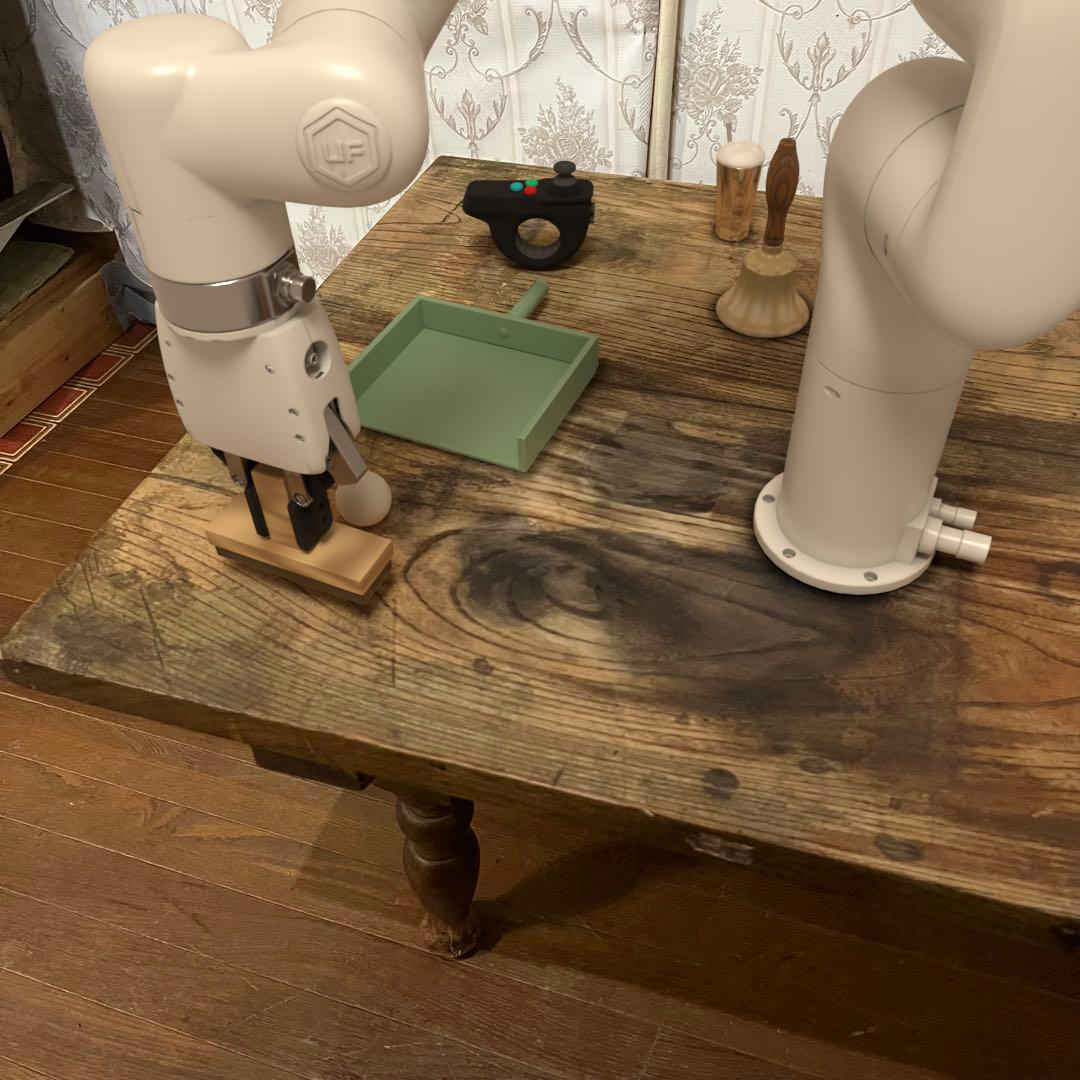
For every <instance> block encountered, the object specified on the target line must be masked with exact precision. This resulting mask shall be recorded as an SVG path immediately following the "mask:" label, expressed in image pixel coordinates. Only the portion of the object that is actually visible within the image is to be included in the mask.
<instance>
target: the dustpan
mask: <svg viewBox="0 0 1080 1080" xmlns="http://www.w3.org/2000/svg"><path fill="white" fill-rule="evenodd" d="M549 292H550V285H549V283H548V282H547V281H546V280H544V279H537V280H535V281H534V282H533V283H532V284H531V286H530V287H528V289H527V290H526V291H525V292H524V293H523V295H522V296H521V297H520V299H518V300H517V302H515V304H514V305H513V306H512V308H511V309H510V310H509V311H508V312H507V313H506V314H505V313H502V312H497V311H493V310H489V309H483V308H480V307H475V306H471V305H467V304H463V303H458V302H454V301H449V300H445V299H441V298H436V297H433V296H432V297H431V296H428V295H424V294H417V295H416V296H415V297H414V298H413V299H412V300H411V301H410V302H409V303H408V304H407V305H406V306H405V307H404V308H403V309H402V310H400V312H399V313H398V314H397V315H396V316H395V317H394V318H393V320H391V322H389V324H388V325H387V326H385V328H384V329H383V330H382V331H380V333H379V334H378V335H377V336H376V337H374V339H373V340H371V342H370V343H369V344H368V345H367V346H366V347H365V348H364V349H363V350H362V351H361V352H360V353H359V354H358V355H357V356H356V357H355V358H354V360H352V361H351V362H350V364H349V365H347V366H346V367H347V370H348V374H349V377H350V381H351V384H352V388H353V392H354V396H355V400H356V404H357V408H358V413H359V419H360V428H365V429H369V430H373V431H375V432H379V433H383V434H386V435H389V436H393V437H397V438H402V439H404V440H407V441H410V442H411V441H412V442H414V443H417V444H422V445H425V446H429V447H433V448H436V449H439V450H443V451H447V452H449V453H454V454H457V455H461V456H464V457H468V458H472V459H474V460H479V461H483V462H486V463H489V464H492V465H496V466H500V467H502V468H503V467H504V468H507V469H510V470H513V471H518V472H521V473H524V474H526V473H527V472H528V471H529V470H530V468H531V466H532V465H533V463H534V462H535V461H536V459H537V458H538V457H539V455H540V454H541V452H542V451H543V449H544V448H545V446H546V445H547V444H548V443H549V441H550V439H551V438H552V436H553V435H554V433H555V432H556V431H557V429H558V428H559V426H560V425H561V423H562V422H563V420H564V419H565V418H566V417H567V414H568V413H569V412H570V411H571V409H572V407H573V406H574V404H576V402H577V400H578V399H579V398H580V396H581V395H582V393H583V392H584V390H585V389H586V387H587V386H588V384H589V383H590V382H591V380H592V378H593V377H594V376H595V374H596V373H597V368H598V367H599V363H600V362H599V361H600V359H599V355H600V354H599V353H600V336H599V335H597V334H593V333H588V332H585V331H581V330H580V331H579V330H576V329H571V328H566V327H562V326H558V325H554V324H549V323H544V322H542V321H541V322H540V321H536V320H533V319H532V320H531V319H529V318H530V316H531V315H532V314H533V313H534V311H535V310H536V309H537V308H538V307H539V305H540V304H541V303H542V302H543V300H544V299H545V298H546V297H547V296H548V294H549Z"/></svg>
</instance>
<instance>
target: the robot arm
mask: <svg viewBox="0 0 1080 1080" xmlns="http://www.w3.org/2000/svg"><path fill="white" fill-rule="evenodd" d="M458 2H459V0H282V2H281V4H280V6H279V10H278V12H277V15H276V18H275V22H274V25H273V29H272V33H271V38H270V40H269V42H268V43H266V44H264V45H262V46H260V47H257V48H252V47H251V46H250V44H249V42H248V41H247V39H246V38H245V37H244V35H243V34H242V33H241V31H239V30H238V29H237V28H236V27H235V26H234V25H232V24H230V23H229V22H227V21H225V20H224V19H221V18H219V17H216V16H213V15H207V14H201V13H193V12H166V13H158V14H157V13H156V14H149V15H145V16H141V17H136V18H132V19H129V20H126V21H124V22H121V23H118V24H116V25H114V26H112V27H110V28H108V29H106V30H104V31H103V32H100V33H99V34H98V35H97V36H96V37H95V38H94V39H93V40H92V41H91V42H90V44H89V45H88V47H87V49H86V50H85V53H84V56H83V62H82V63H83V65H82V75H83V76H82V77H83V82H84V85H85V88H86V93H87V95H88V99H89V102H90V105H91V109H92V112H93V114H94V117H95V120H96V122H97V126H98V129H99V131H100V136H101V138H102V141H103V144H104V147H105V149H106V150H105V151H106V153H107V156H108V159H109V162H110V165H111V168H112V170H113V174H114V176H115V181H116V182H117V185H118V186H117V187H118V189H119V192H120V194H121V198H122V200H123V204H124V207H125V210H126V212H127V215H128V219H129V221H130V224H131V227H132V231H133V233H134V236H135V238H136V242H137V246H138V248H139V251H140V254H141V258H142V260H143V263H144V266H145V269H146V273H147V275H148V278H149V281H150V283H151V287H152V291H153V293H154V297H155V301H154V313H155V324H156V331H157V337H158V343H159V349H160V353H161V358H162V362H163V367H164V371H165V374H166V378H167V382H168V385H169V389H170V392H171V396H172V398H173V401H174V404H175V407H176V410H177V413H178V415H179V417H180V420H181V422H182V427H183V430H184V431H185V432H186V433H187V434H188V435H189V436H190V437H192V438H193V439H194V440H196V441H197V442H199V443H201V444H203V445H205V446H206V447H208V448H210V450H211V452H212V453H213V455H214V456H216V457H217V458H218V459H219V460H220V461H221V462H222V463H223V464H224V465H225V466H226V467H227V471H228V473H229V477H230V479H231V481H232V482H233V484H234V485H236V486H237V487H239V488H240V489H244V491H243V493H244V494H245V497H246V500H247V504H248V507H249V510H250V513H251V516H252V520H253V523H254V526H255V529H256V532H257V534H258V535H260V536H263V537H267V536H270V534H269V531H268V527H267V524H266V521H265V517H264V514H263V511H262V507H261V504H260V501H259V497H258V494H257V491H256V488H255V485H254V481H253V478H252V475H251V471H252V470H253V469H254V468H255V467H256V466H257V464H258V463H259V462H261V463H264V464H267V465H271V466H274V467H278V468H281V469H283V471H284V474H285V477H286V480H287V483H288V487H289V490H290V493H291V496H292V500H291V501H290V502H289V503H288V505H287V509H288V513H289V517H290V520H291V524H292V527H293V531H294V535H295V538H296V542H297V545H298V546H299V548H300V549H302V550H305V551H309V550H310V549H311V548H312V547H313V546H314V544H315V543H316V542H317V541H318V540H319V538H320V537H321V536H323V535H325V534H326V533H327V531H328V530H329V529H330V527H331V525H332V522H333V521H334V516H333V510H332V508H331V502H330V497H329V495H328V490H330V489H331V487H333V486H334V487H335V486H337V487H338V486H345V485H354V484H357V483H358V482H359V481H360V480H361V478H362V477H363V476H364V475H365V474H366V472H367V471H370V470H369V469H370V467H369V464H368V463H367V461H366V459H365V458H364V457H363V455H362V453H361V451H360V450H359V449H358V447H357V446H356V444H355V442H354V440H355V439H356V438H357V436H358V435H360V433H361V426H360V419H359V413H358V408H357V404H356V400H355V396H354V392H353V388H352V384H351V381H350V377H349V374H348V370H347V367H348V366H347V364H346V361H345V358H344V355H343V352H342V348H341V346H340V343H339V341H338V338H337V335H336V333H335V330H334V327H333V325H332V323H331V320H330V318H329V316H328V314H327V312H326V310H325V307H324V306H323V303H322V301H321V300H320V299H319V296H318V295H317V294H316V293H317V283H316V280H315V278H314V277H312V276H310V275H306V274H304V273H302V271H301V268H300V262H299V258H298V254H297V250H296V249H297V248H296V244H295V240H294V236H293V232H292V227H291V224H290V218H289V214H288V210H287V205H286V203H292V204H300V205H308V206H317V207H324V208H325V207H327V208H338V209H339V208H341V209H343V208H344V209H349V208H350V209H351V208H365V207H370V206H375V205H378V204H381V203H384V202H387V201H389V200H391V199H393V198H395V197H396V196H399V194H401V193H402V192H404V191H405V190H406V189H407V188H409V186H410V185H411V184H412V183H413V182H414V181H415V179H416V178H417V176H418V174H419V173H420V171H421V169H422V167H423V165H424V162H425V160H426V158H427V154H428V153H427V152H428V149H429V144H430V143H429V142H430V130H431V129H430V114H429V104H428V93H427V85H426V73H425V63H426V60H427V57H428V56H429V54H430V51H431V50H432V48H433V46H434V44H435V42H436V40H437V39H438V37H439V36H440V34H441V31H442V30H443V28H444V26H445V25H446V23H447V21H448V19H449V18H450V16H451V14H452V12H453V11H454V9H455V8H456V6H457V4H458ZM910 2H911V4H912V6H913V8H914V10H916V12H917V14H918V15H919V17H920V18H921V19H922V21H923V22H924V23H925V24H926V25H927V26H928V28H929V29H930V30H931V31H932V32H933V33H934V34H935V35H936V36H937V37H938V38H939V39H940V40H941V41H942V42H943V43H945V44H946V45H947V46H948V47H949V48H950V49H951V50H952V52H955V54H957V55H958V56H959V57H960V58H961V60H960V59H956V58H951V57H944V56H925V57H918V58H913V59H910V60H906V61H904V62H900V63H898V64H896V65H894V66H892V67H889V68H888V69H886V70H884V71H883V72H880V74H878V75H877V76H875V77H874V78H873V79H871V80H870V81H869V82H868V83H867V84H865V85H864V86H863V87H862V89H861V90H859V92H858V93H857V94H856V95H855V97H854V98H852V100H851V101H850V103H849V104H848V106H847V107H846V109H845V111H844V112H843V114H842V116H841V117H840V119H839V121H838V123H837V125H836V128H835V130H834V133H833V135H832V138H831V142H830V144H829V148H828V152H827V157H826V161H825V167H824V168H825V169H824V176H823V188H822V213H821V243H820V244H821V246H820V261H819V270H818V277H817V278H818V280H817V286H816V293H815V300H814V306H813V311H812V316H811V322H810V328H809V334H808V338H807V344H806V348H805V355H804V360H803V365H802V370H801V375H800V376H801V377H800V381H799V386H798V391H797V392H798V393H797V398H796V404H795V408H794V414H793V419H792V426H791V430H790V435H789V436H790V437H789V442H788V446H787V453H786V458H785V464H784V469H783V472H781V473H779V474H777V475H775V476H774V477H773V478H771V480H769V482H767V483H766V484H765V485H764V486H763V488H762V489H761V491H760V492H759V493H758V496H757V499H756V500H755V503H754V508H753V516H752V524H753V525H752V526H753V533H754V535H755V537H756V541H757V543H758V545H759V547H760V548H761V549H762V552H763V553H764V554H765V555H766V556H767V557H768V559H770V561H771V562H772V563H773V564H774V565H775V566H777V568H779V569H780V570H782V571H783V572H785V573H786V574H787V575H789V576H790V577H792V578H794V579H796V580H798V581H800V582H801V583H804V584H806V585H809V586H812V587H814V588H817V589H820V590H824V591H828V592H831V593H837V594H844V595H845V594H846V595H854V596H861V595H878V594H881V593H887V592H892V591H895V590H897V589H900V588H902V587H905V586H908V585H909V584H911V583H912V582H913V581H915V580H917V579H919V578H920V577H921V575H923V573H924V572H926V570H927V569H928V568H929V567H930V565H931V563H932V561H933V559H934V557H935V555H936V551H938V552H941V553H945V554H949V555H952V556H955V558H957V559H961V560H965V561H967V562H968V561H969V562H972V563H976V564H979V565H984V564H985V561H986V559H987V557H988V554H989V550H990V547H991V543H992V539H993V537H992V536H991V535H987V534H983V533H980V532H975V531H972V530H973V527H974V525H975V522H976V519H977V515H978V511H977V510H973V509H969V508H964V507H961V506H953V505H949V504H944V503H942V502H943V499H942V498H938V497H934V495H935V492H936V488H937V485H938V481H939V478H938V477H937V476H936V473H937V470H938V467H939V464H940V460H941V458H942V455H943V452H944V448H945V445H946V442H947V439H948V436H949V433H950V430H951V426H952V424H953V421H954V417H955V414H956V411H957V409H958V405H959V402H960V398H961V395H962V392H963V389H964V386H965V383H966V380H967V376H968V373H969V370H970V369H971V365H972V363H973V360H974V356H975V354H976V351H982V352H985V351H987V352H989V351H991V352H992V351H993V352H994V351H995V352H996V351H1005V350H1010V349H1014V348H1018V347H1021V346H1023V345H1026V344H1028V343H1031V342H1034V341H1035V340H1037V339H1039V338H1041V337H1043V336H1045V335H1046V334H1048V333H1051V331H1053V330H1055V329H1056V328H1057V327H1059V326H1060V325H1061V324H1063V323H1064V322H1065V321H1067V320H1068V319H1069V318H1070V317H1071V316H1072V315H1073V314H1074V313H1076V312H1077V310H1079V309H1080V0H910ZM962 60H963V61H962ZM353 439H354V440H353ZM306 474H308V475H306ZM943 524H946V525H943ZM947 525H950V526H951V527H950V526H947Z"/></svg>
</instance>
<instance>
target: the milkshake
mask: <svg viewBox="0 0 1080 1080" xmlns="http://www.w3.org/2000/svg"><path fill="white" fill-rule="evenodd" d="M725 126H726V128H725V129H726V138H727V143H724V144H723V145H721V146H720V147H719V148H718V150H717V151H716V154H715V158H716V159H715V160H716V161H715V162H716V163H715V164H716V165H715V167H716V170H715V171H716V173H715V175H716V178H715V180H716V190H715V191H716V193H715V235H716V236H717V237H718V239H720V240H724V241H726V242H740V241H742V240H744V239H747V238H748V235H749V231H750V228H751V222H752V218H753V213H754V207H755V202H756V197H757V193H758V189H759V186H760V185H759V184H760V181H761V178H762V172H763V169H764V164H765V160H766V152H765V151H764V149H763V148H762V147H761V145H760V144H759V143H758V142H757V141H748V140H739V141H733V136H732V123H731V122H730V121H728V122H726V123H725Z"/></svg>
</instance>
